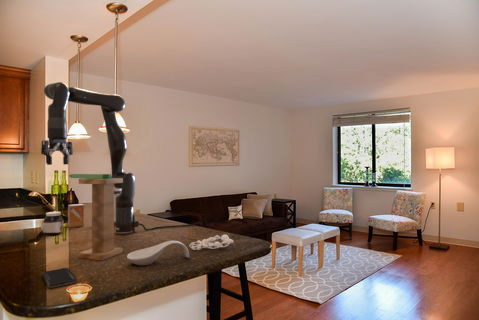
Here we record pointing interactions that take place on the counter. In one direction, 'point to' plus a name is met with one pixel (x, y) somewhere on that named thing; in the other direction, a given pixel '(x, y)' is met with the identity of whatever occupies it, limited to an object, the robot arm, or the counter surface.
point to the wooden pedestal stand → (102, 219)
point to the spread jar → (52, 224)
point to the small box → (76, 215)
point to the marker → (91, 176)
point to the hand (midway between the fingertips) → (57, 164)
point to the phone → (59, 277)
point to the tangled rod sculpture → (209, 241)
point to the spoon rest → (153, 253)
